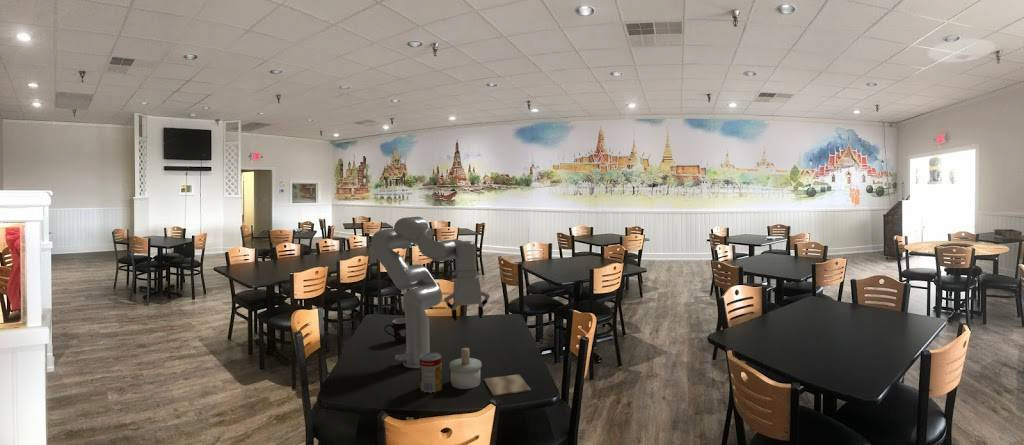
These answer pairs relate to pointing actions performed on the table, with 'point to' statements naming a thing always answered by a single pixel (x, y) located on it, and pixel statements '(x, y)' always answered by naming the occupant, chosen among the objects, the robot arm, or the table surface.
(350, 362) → the table surface
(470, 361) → the lid
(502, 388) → the mat
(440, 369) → the canned food
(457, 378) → the bowl
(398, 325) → the coffee mug
